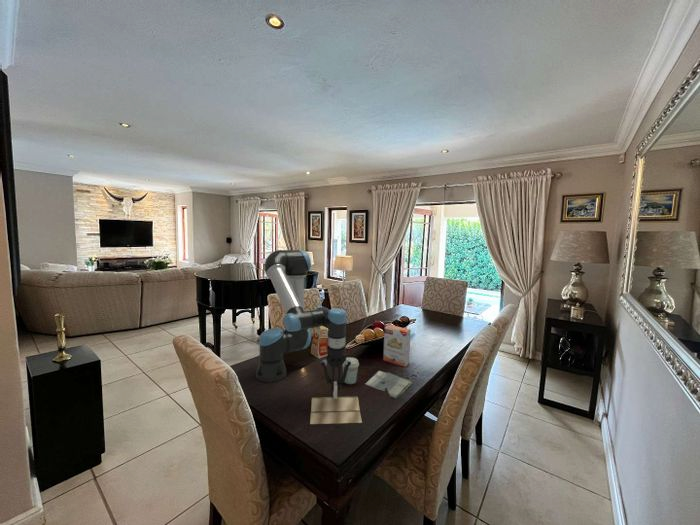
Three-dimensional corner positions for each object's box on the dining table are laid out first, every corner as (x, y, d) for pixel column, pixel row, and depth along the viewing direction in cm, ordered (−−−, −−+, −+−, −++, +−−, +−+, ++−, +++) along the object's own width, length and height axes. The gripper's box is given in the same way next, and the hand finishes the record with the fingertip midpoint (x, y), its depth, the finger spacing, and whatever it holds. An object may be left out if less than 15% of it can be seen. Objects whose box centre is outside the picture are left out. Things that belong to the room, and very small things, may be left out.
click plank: (310, 414, 118) (310, 411, 118) (311, 400, 125) (311, 397, 125) (359, 413, 120) (359, 410, 119) (357, 399, 127) (357, 396, 127)
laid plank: (309, 427, 110) (310, 423, 110) (310, 415, 118) (310, 411, 117) (361, 426, 112) (362, 422, 112) (359, 414, 119) (359, 410, 119)
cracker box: (382, 361, 170) (384, 326, 168) (387, 357, 175) (389, 324, 173) (404, 367, 162) (406, 331, 160) (409, 364, 167) (410, 329, 165)
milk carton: (318, 358, 171) (319, 325, 169) (310, 353, 178) (310, 321, 176) (330, 354, 177) (331, 322, 175) (322, 349, 184) (322, 319, 182)
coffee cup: (345, 389, 138) (345, 365, 136) (338, 381, 145) (339, 358, 144) (361, 386, 141) (362, 362, 140) (354, 378, 149) (354, 355, 148)
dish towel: (396, 401, 130) (396, 394, 130) (362, 388, 141) (363, 382, 140) (412, 384, 145) (413, 378, 145) (381, 373, 156) (381, 368, 155)
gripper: (320, 349, 118) (320, 403, 121) (352, 349, 119) (351, 402, 122) (321, 342, 125) (320, 392, 128) (350, 341, 127) (349, 392, 130)
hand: (335, 397), depth 125 cm, fingers closed
